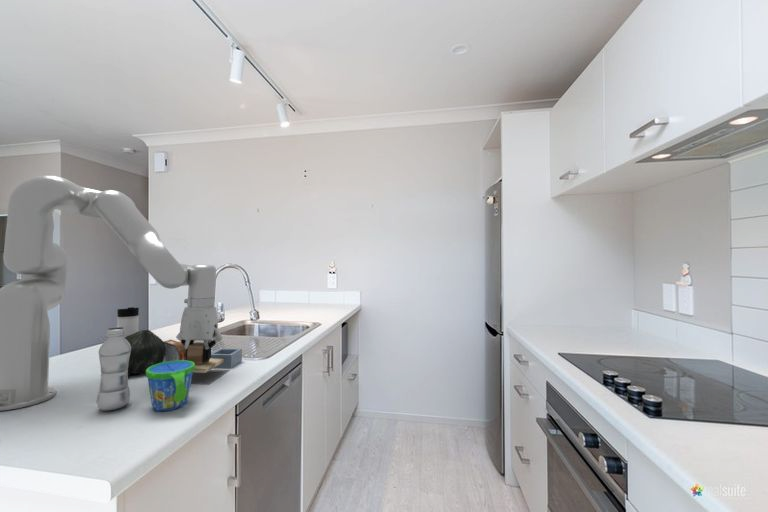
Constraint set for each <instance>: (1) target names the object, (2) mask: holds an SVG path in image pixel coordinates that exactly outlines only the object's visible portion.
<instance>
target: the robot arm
mask: <svg viewBox="0 0 768 512" xmlns="http://www.w3.org/2000/svg"><path fill="white" fill-rule="evenodd" d="M7 205H8V206H7V217H6V218H7V220H6V229H5V235H4V236H5V237H4V246H3V248H4V249H3V256H2V257H3V260H2V261H3V264H4V267H5V268H7V270H9V271H10V272H13V273H15V274H16V275H17V274H19V275H21V279H19V280H15V281H12V282H10V283H9V282H8V283H6V284H5V285H3V286H2V287H0V412H1V411H10V410H16V409H20V408H26V407H29V406H33V405H37V404H39V403H42V402H45V401H47V400H50V399H51V398H53V397H55V396H56V394H57V389H56V388H54V387H50V386H49V375H50V373H49V372H50V371H49V369H50V347H51V344H50V342H51V341H50V340H51V336H50V335H51V326H50V318H49V315H48V314H49V313H48V311H50V310H53V309H54V308H56V307H58V306H59V305H60V304H61V303H62V302H63V301H64V297H65V295H66V288H67V277H68V275H67V274H68V256H67V253H66V250H64V248H63V247H62V246H61V245H59V244H57V243H55V242H54V232H55V231H54V230H55V221H54V216H53V214H54V211H55V210H59V211H62V212H64V213H69V214H73V215H79V216H84V217H88V218H93V219H99V220H103V221H104V222H105V223H106V224H107V225H108V227H110V229H111V230H112V231H113V232H114V233H115V234H116V235H117V236H118V238H119V239H120V240H121V241H122V242H123V243H124V244H125V245H126V247H127V248H128V249H129V251H130V252H131V253H132V254H133V256H134V257H135V258H136V260H137V261H138V262H139V263H140V265H141V266H142V267H143V268H144V269H145V270H146V272H147V273H148V274H150V276H151V277H152V278H153V279H154V280H155V281H156V283H158V284H159V285H160V286H162V287H164V288H166V289H169V290H170V289H177V288H180V287H184V286H185V287H186V286H188V287H187V288H188V292H187V298H185V299H184V300H183V302H184V304H186V307H184V309H183V312H182V314H181V315H182V316H181V321H180V327H179V333H178V334H177V335H176V336H175V337H176V340H178V342H181V343H182V344H183V345H184V348H185V349H186V360H187V350H188V345H191V344H193V343H195V341H203V343H204V346H205V349H204V350H203V362H206V361H208V360H210V358H211V353H212V348H214V346H215V345H216V344H217V343H218V342H220V341H221V340H223V336H222V334H221V333H220V331H219V319H218V310H217V307H215V300H216V299H215V297H216V281H217V279H216V278H217V268H216V266H214V265H211V264H187V263H186V264H185V263H180V262H179V261H178V260H177V259H176V258H175V257H174V256H173V254H171V252H170V251H169V250H168V249H167V247H166V246H165V244H164V243H163V242H162V239H161V238H160V235H159V233H158V231H157V229H156V228H155V227H154V226H153V225H152V224H151V223H150V222H149V221H148V219H147V218H146V217H145V216H144V215H143V214H142V213H141V211H140V210H139V209H138V208H137V206H136V204H135V202H134V201H133V200H132V198H130V197H129V196H127V195H126V194H125V193H123V192H121V191H119V190H115V189H114V190H113V189H106V190H103V191H100V190H97V189H92V188H88V187H84V186H80V185H78V184H77V183H75V182H72V181H71V180H69V179H67V178H65V177H61V176H58V175H46V174H45V175H37V176H34V177H33V176H32V177H30V178H28V179H26V180H24V181H21V182H20V183H19V184H18V185H16V186H15V187H14V189H13V190H12V191H11V194H10V196H9V199H8V204H7Z"/></svg>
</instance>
